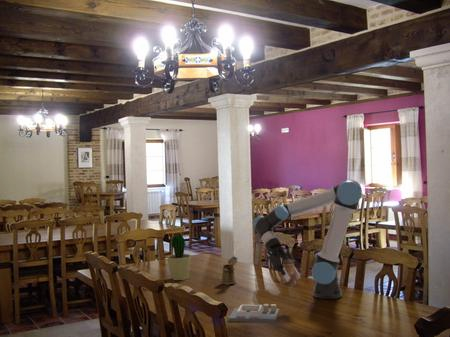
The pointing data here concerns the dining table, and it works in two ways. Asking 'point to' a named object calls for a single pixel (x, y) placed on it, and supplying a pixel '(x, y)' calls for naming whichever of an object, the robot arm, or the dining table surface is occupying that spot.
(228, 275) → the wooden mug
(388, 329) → the dining table surface
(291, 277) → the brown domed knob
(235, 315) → the board
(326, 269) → the robot arm
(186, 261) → the potted cactus
